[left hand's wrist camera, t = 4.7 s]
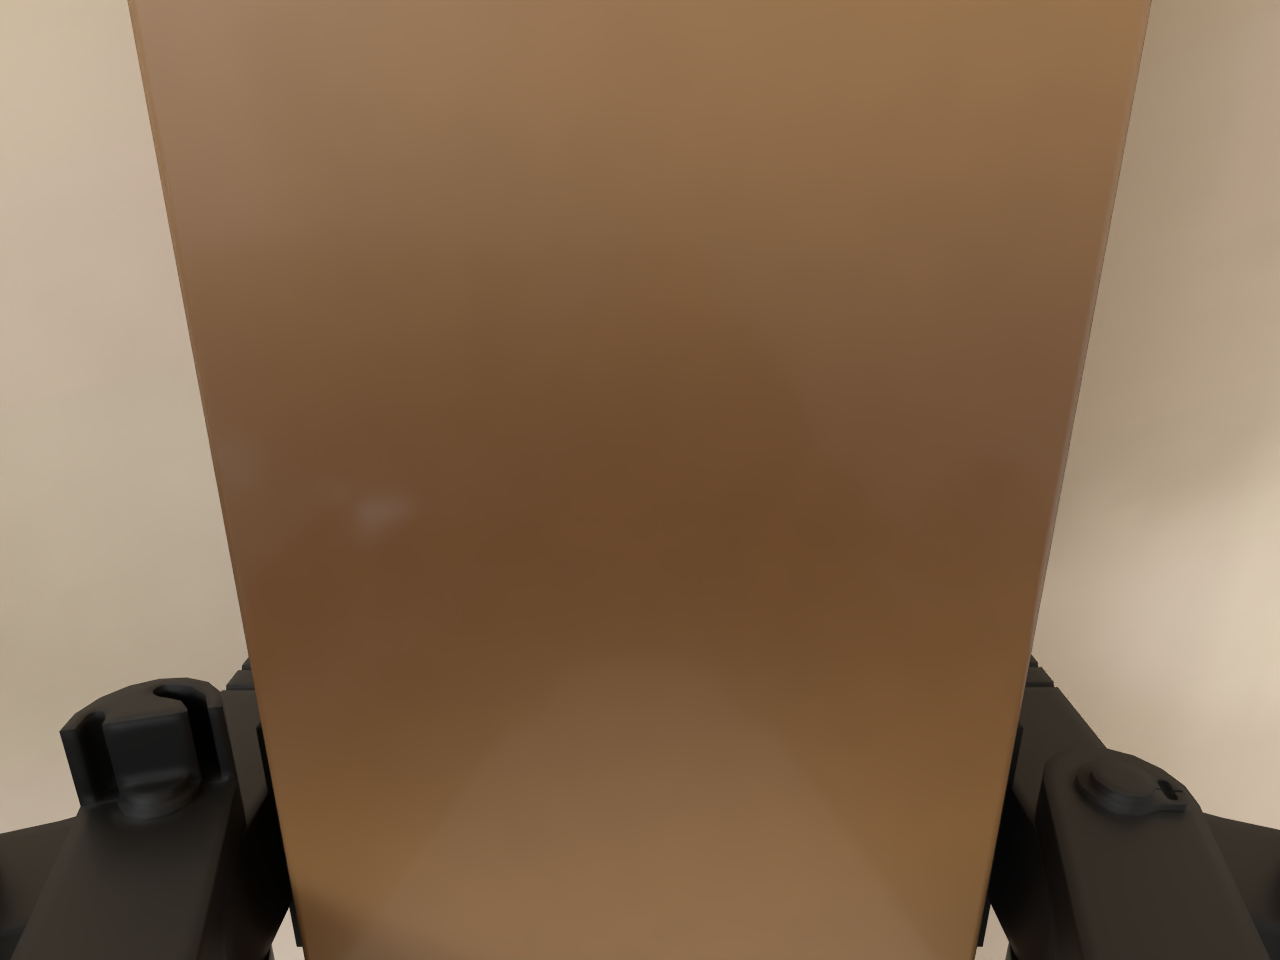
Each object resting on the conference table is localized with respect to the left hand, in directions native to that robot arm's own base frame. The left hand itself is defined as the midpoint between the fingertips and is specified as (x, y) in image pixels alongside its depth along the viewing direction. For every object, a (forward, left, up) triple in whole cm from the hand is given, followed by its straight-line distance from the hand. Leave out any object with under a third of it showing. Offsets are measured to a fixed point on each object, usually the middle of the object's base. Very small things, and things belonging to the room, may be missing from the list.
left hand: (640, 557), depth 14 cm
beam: (+16, +12, -1) cm, 20 cm away
